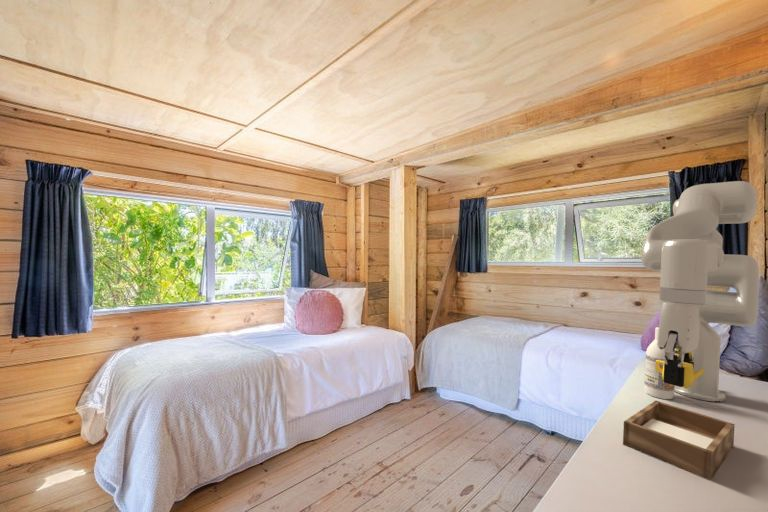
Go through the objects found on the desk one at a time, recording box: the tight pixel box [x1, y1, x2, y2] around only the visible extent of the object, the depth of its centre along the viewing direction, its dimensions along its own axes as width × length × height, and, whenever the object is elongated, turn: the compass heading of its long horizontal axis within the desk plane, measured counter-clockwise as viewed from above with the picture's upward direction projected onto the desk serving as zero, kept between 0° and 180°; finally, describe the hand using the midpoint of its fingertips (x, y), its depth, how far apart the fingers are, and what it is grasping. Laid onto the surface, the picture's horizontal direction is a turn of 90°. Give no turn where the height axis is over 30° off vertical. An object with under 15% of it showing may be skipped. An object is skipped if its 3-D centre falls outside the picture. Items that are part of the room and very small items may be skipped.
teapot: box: [655, 359, 705, 388], centre depth 73 cm, size 8×6×5 cm
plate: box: [643, 419, 714, 449], centre depth 74 cm, size 9×11×2 cm
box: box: [622, 400, 735, 481], centre depth 75 cm, size 20×14×5 cm
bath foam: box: [643, 326, 675, 400], centre depth 103 cm, size 7×7×20 cm
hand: (678, 380), depth 73 cm, fingers closed on teapot, 6 cm apart
